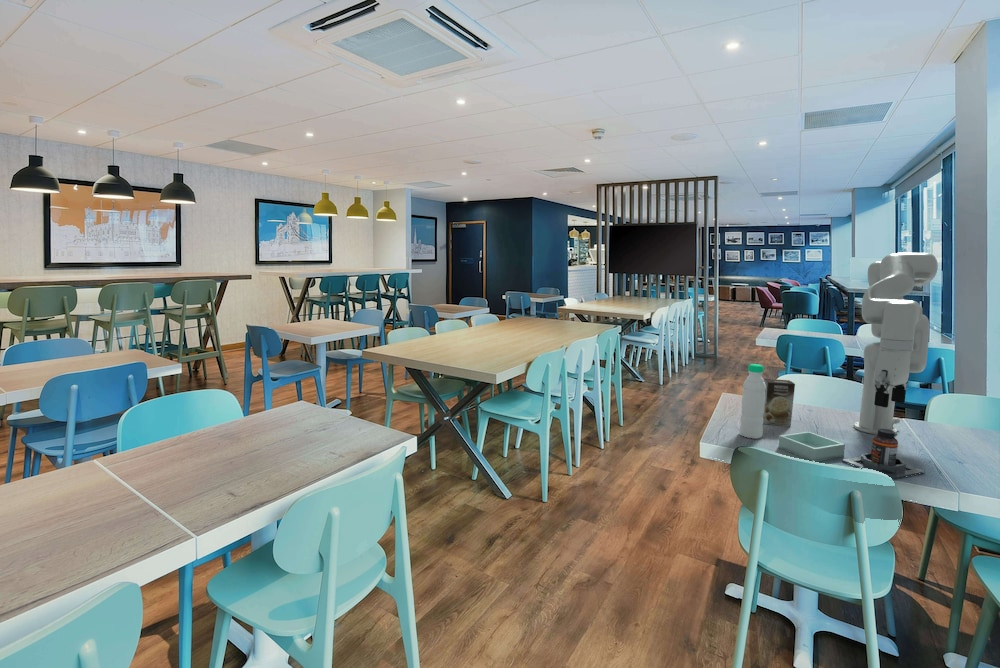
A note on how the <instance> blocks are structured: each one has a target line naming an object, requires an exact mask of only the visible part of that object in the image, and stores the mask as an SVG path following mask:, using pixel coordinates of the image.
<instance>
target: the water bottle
mask: <svg viewBox="0 0 1000 668" xmlns="http://www.w3.org/2000/svg"><path fill="white" fill-rule="evenodd" d="M764 368H765V367H764V365H762V364H759V363H757V364H756V363H750V364H749V365H748V366H747V372H748V376H746V379H745V380H744V382H743V384H742V388H743V390H742V395H741V396H742V397H741V415H740V426H739V434H740V436H742V437H743V436H744V438H746V437H747V439H751V438H752V440H757V439H758V440H759V439H761V438H762V437H763V430H764V429H763V425H764V423H763V414H764V406H765V390H766V385H765V382H764V379H765V378H763V373H764V370H765V369H764Z"/></svg>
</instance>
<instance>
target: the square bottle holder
mask: <svg viewBox="0 0 1000 668" xmlns="http://www.w3.org/2000/svg"><path fill="white" fill-rule="evenodd" d="M870 458H871V451H870V452H866V453H861V454H860V456H855V457H850V458H846V459H841V462H842V463H844V462H845V463H844V464H847V463H849V464H852V465H854V466H853V467H855V468H857V467H862V468H868V469H873V470H876V471H879V472H882V473H884V474H887V475H888V476H889V477H891V478H892V479H894V480H899V479H903V478H902V477H904V478H907V477H906V476H909V477H912V476H911V475H914V476H916V475H915V474H919V473H923V472H924V473H925V471H924V470H922V469H919V468H916V467H913V466H909V464H908V465H907V464H906V463H905V462H904V460H903V459H901V458H899V457H896V463H895V465H888V464H880V463H877V462H874V461H871V460H870ZM857 462H858V463H857ZM860 462H861V463H860ZM849 464H848V465H849ZM852 465H851V466H852ZM906 469H908V470H906ZM919 475H920V474H919ZM898 478H899V479H898ZM894 480H893V481H894Z"/></svg>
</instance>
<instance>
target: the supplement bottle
mask: <svg viewBox="0 0 1000 668" xmlns="http://www.w3.org/2000/svg"><path fill="white" fill-rule="evenodd" d="M895 436H896V434H895V432H894V431H893V430H889V429H878V434H877V435H876V434H874V436H873V437H872V443H871V451H870V452H871V458H870V460H871V461H874V462H877V463H880V464H888V465H895V463H896V458H897V453H898V445H899V441H898V439H897V438H896V437H895Z"/></svg>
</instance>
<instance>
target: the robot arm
mask: <svg viewBox="0 0 1000 668" xmlns="http://www.w3.org/2000/svg"><path fill="white" fill-rule="evenodd" d="M938 267H939V264H938V260H937V258H936V256H935V255H934V254H931V253H929V252H897V253H896V252H894V253H890V254H888V255H886V256H884V257H883V258H882V260H880V261H879V260H877V261H875V262H872V263H870V264H869V266H868V268H867V281H868V285H869V287H868V288H867V289H866V290H865V292H864V293H863V296H862V300H861V317H862V318H861V319H862V320H863V321H864V322H865V323H867V324H870V325H871V327H870V328H871V334H872V336H874V337H875V338H877V339H880V340H879V342H878V341H877V342H872V343H868V344H866V346H865V347H864V349H863V365H864V366H863V367H864V368H863V370H864V372H863V373H864V374H863V375H864V376H863V385H862V394H861V403H860V410H859V411H860V412H859V421H856V422H854V423H853V427H854V429H856V430H858V431H861V432H863V433H867V434H871V435H877V434H878V429H889V430H893V431H894V432H895V435H897V434H898V430H897V428H896V427H894V425H895V424H896V425H897V424H899V423H900V422H901V419H900V418H898V417H894V414H895V413H894V412H895V405H896V404H895V403H901V404H904V403H906V393H907V389H908V383H909V378H910V374H911V373H912V374H913V373H915V374H917V373H922V372H923V371H924V370H925V369H926V367H927V364H928V353H929V340H930V321H929V318H928V317H927V315H925V314H923V307H922V305H921V304H920V303H919V302H918V301H916V300H912V299H911V300H910V299H905V298H904V296H907V295H908V294H910V293H911V292H912V291H913V290H914V287H925V286H927V285H929V284H930V283H931V282H932V281H933V280H934V279H935V277H936V275H937V273H938V269H939V268H938Z"/></svg>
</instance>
